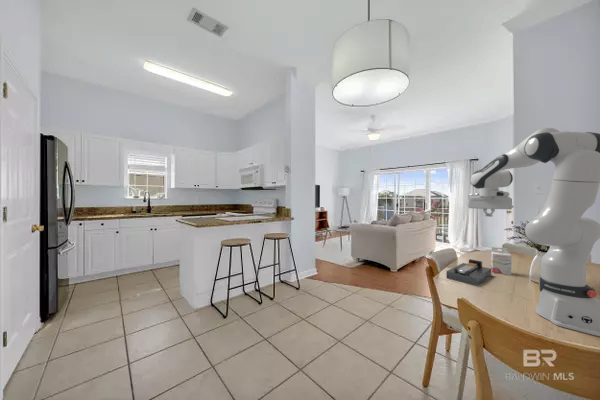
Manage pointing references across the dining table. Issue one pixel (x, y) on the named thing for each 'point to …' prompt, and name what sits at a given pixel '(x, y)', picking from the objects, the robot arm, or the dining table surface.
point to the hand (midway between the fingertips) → (488, 216)
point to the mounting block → (470, 273)
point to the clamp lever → (467, 268)
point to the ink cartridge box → (501, 261)
